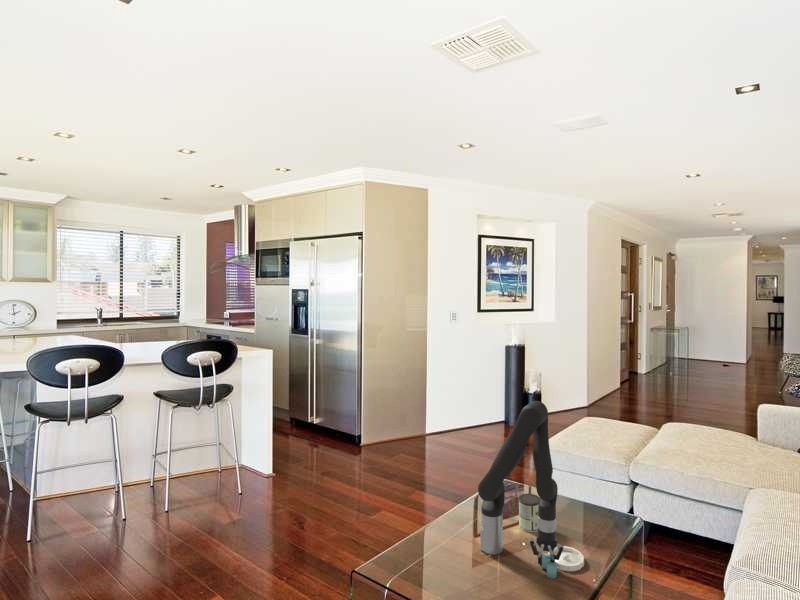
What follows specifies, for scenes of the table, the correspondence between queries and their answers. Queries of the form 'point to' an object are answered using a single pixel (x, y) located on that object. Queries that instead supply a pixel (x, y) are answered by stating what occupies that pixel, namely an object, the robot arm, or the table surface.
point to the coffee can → (528, 512)
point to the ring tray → (569, 559)
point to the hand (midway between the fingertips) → (546, 565)
